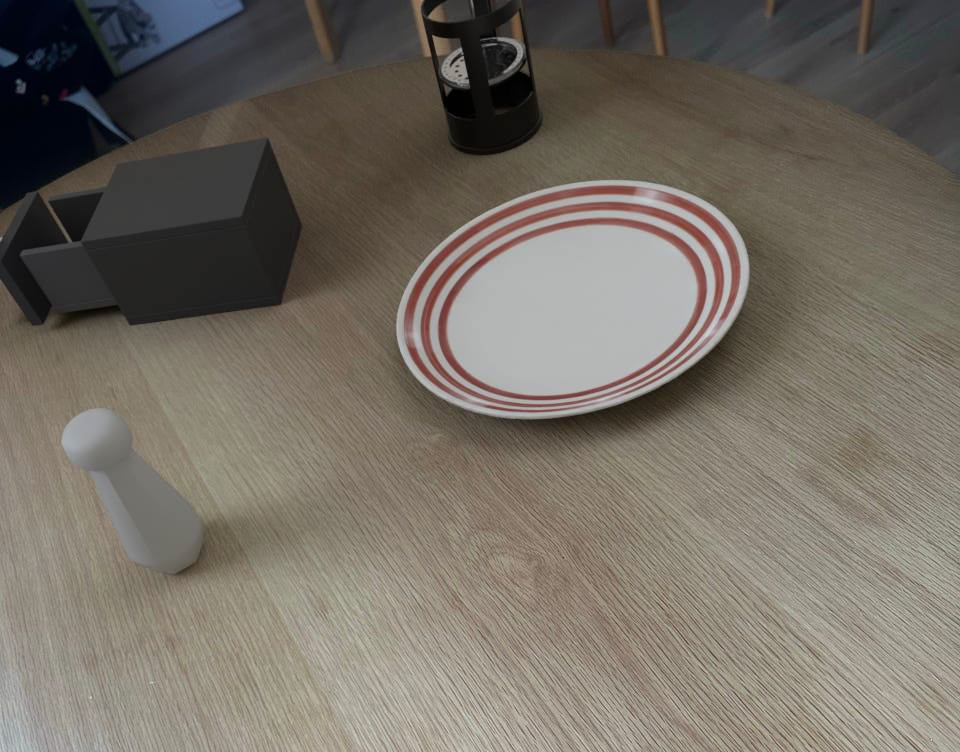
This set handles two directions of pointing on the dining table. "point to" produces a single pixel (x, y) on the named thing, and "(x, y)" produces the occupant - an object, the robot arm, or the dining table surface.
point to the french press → (485, 79)
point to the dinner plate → (573, 299)
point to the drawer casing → (195, 233)
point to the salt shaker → (134, 493)
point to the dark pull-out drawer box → (52, 256)
